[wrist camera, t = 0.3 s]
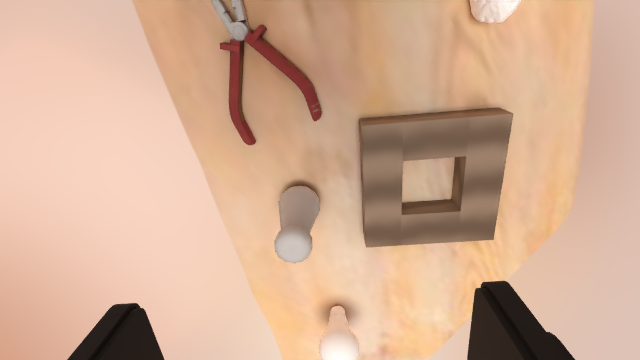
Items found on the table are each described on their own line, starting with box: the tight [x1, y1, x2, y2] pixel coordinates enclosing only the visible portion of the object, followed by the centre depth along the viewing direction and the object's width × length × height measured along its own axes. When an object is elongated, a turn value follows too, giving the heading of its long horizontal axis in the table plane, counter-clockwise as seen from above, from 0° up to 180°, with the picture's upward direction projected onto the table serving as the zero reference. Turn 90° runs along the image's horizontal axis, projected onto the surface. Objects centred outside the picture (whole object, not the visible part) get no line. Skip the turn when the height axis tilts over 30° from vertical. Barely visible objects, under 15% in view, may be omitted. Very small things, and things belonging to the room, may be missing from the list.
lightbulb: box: [319, 306, 359, 360], centre depth 51 cm, size 6×6×11 cm
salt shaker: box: [275, 186, 320, 263], centre depth 41 cm, size 6×6×13 cm
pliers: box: [212, 0, 321, 145], centre depth 39 cm, size 12×20×3 cm, turn 21°
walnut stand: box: [359, 108, 513, 247], centre depth 44 cm, size 18×18×4 cm
